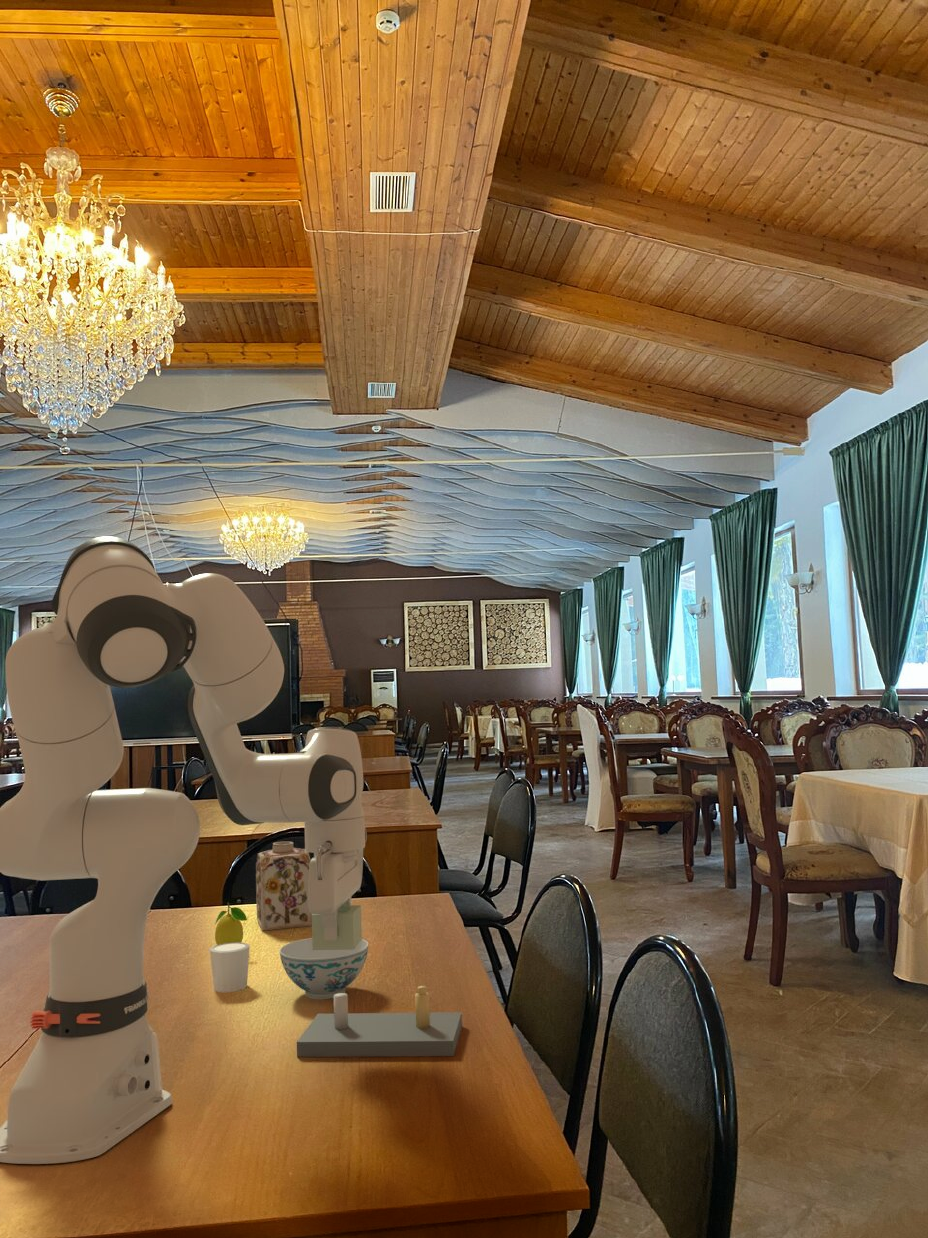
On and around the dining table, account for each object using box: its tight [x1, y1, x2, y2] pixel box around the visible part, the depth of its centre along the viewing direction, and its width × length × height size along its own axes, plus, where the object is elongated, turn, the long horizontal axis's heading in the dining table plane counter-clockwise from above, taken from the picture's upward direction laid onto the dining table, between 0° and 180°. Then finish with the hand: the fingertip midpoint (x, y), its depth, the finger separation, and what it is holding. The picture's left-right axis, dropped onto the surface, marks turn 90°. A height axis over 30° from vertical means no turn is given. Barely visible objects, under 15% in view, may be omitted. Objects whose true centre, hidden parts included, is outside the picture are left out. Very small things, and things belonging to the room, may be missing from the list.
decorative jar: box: [255, 841, 312, 932], centre depth 217 cm, size 12×12×18 cm
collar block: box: [311, 904, 363, 950], centre depth 140 cm, size 6×6×5 cm
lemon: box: [214, 902, 248, 945], centre depth 192 cm, size 7×6×10 cm
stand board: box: [296, 985, 463, 1058], centre depth 139 cm, size 12×22×8 cm, turn 85°
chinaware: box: [279, 937, 369, 1000], centre depth 163 cm, size 15×15×8 cm
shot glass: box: [209, 942, 251, 993], centre depth 169 cm, size 7×7×7 cm
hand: (337, 933), depth 140 cm, fingers closed on collar block, 6 cm apart
